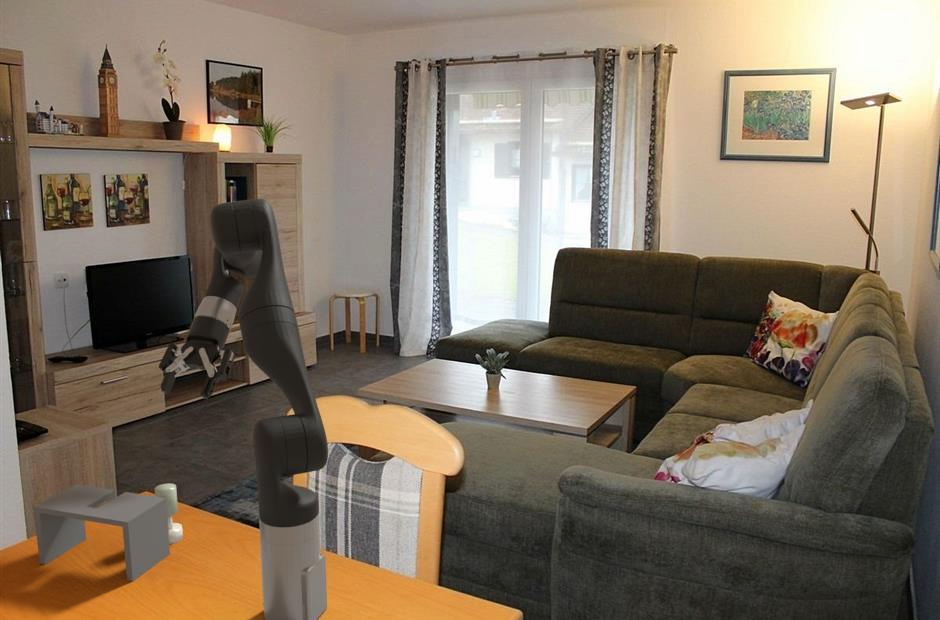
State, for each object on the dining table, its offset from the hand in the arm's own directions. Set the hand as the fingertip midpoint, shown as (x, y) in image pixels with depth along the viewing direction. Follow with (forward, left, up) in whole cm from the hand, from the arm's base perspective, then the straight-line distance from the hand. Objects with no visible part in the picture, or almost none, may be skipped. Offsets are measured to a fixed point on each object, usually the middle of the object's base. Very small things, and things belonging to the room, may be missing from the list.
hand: (184, 394), depth 156 cm
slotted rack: (+5, +19, -26) cm, 33 cm away
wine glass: (-1, +8, -26) cm, 27 cm away
